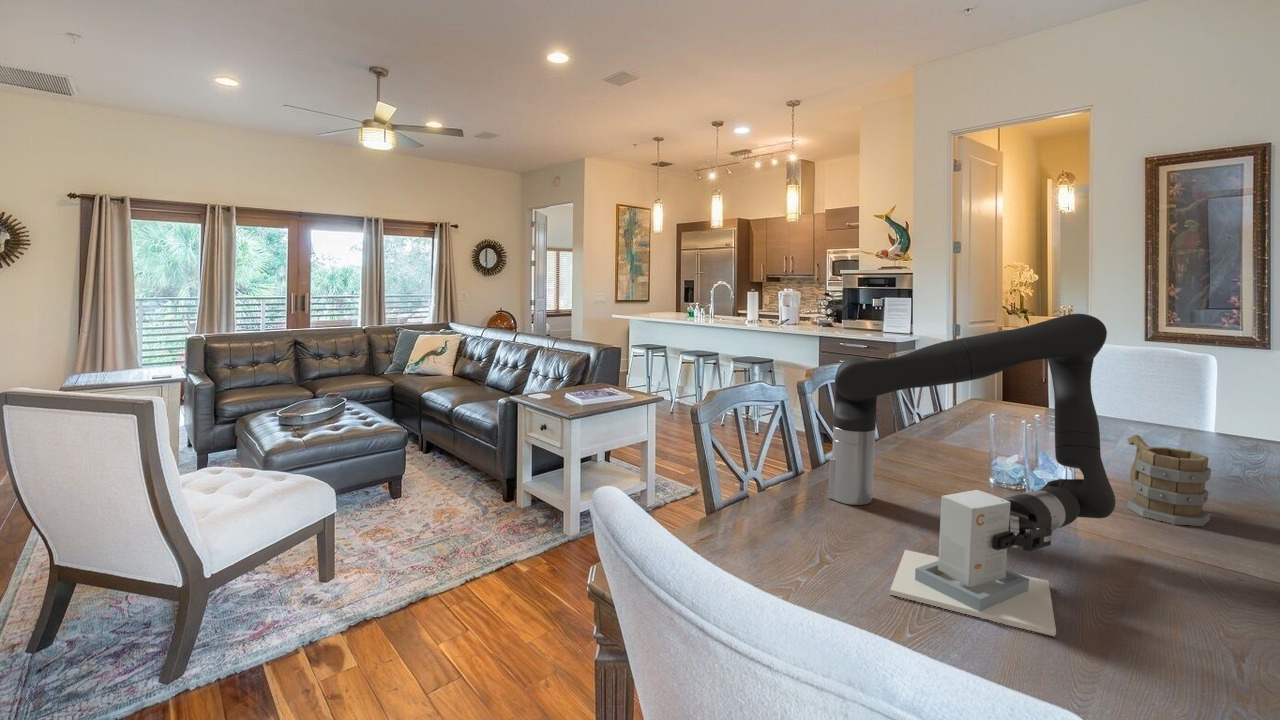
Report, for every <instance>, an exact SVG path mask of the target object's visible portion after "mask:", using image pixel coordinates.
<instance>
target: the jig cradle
mask: <svg viewBox="0 0 1280 720" xmlns="http://www.w3.org/2000/svg"><path fill="white" fill-rule="evenodd" d="M938 558H939V556H936V555H931V554H927V553H923V552H917V551H914V550H908V549H904V552H903V555H902V557H901V560H900V562H899V565H898V567H897V570H896V573H895V575H894V578H893V581H892V583H891V586H890V588H889V595H890V594H891V595H895V596H899V597H904V598H908V599H912V600H916V601H919V602H923V603H927V604H930V605H934V606H937V607H941V608H945V609H948V610H952V611H956V612H960V613H964V614H968V615H972V616H976V617H981V618H984V619H989V620H993V621H997V622H1000V623H1004V624H1007V625H1011V626H1015V627H1019V628H1024V629H1027V630H1032V631H1037V632H1041V633H1047V634H1052V635H1056V636H1057V627H1056V621H1055V615H1054V609H1053V602H1052V597H1051V590H1050V589H1051V588H1050V584H1049V580H1046V579H1042V578H1037V577H1033V576H1028V575H1023V574H1018V573H1016V572H1014V571H1011V570H1008V569H1006V578H1003V579H999V580H995V581H991V582H987V583H983V584H979V585H975V586H971V587H968V586H966V585H964V584H962V583H960V582H959V581H957V580H955V579H953V578H952V577H950V576H948V575H946V574H944V573H942V572H941V571H939V570H938ZM937 607H936V608H937ZM948 610H947V611H948ZM952 611H951V612H952ZM956 612H955V613H956ZM960 613H959V614H960ZM964 614H963V615H964ZM968 615H967V616H968ZM972 616H971V617H972Z"/></svg>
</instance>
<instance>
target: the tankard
mask: <svg viewBox="0 0 1280 720" xmlns="http://www.w3.org/2000/svg"><path fill="white" fill-rule="evenodd" d="M1127 442H1128V444H1129V445H1131V446H1132V445H1133V446H1134V445H1135V447H1136V451H1135V455H1134V456H1135V457H1134V461H1133V463H1132V464H1131V465H1132V466H1131V468H1130V475H1129V479H1130V485H1131V488H1132V490H1133V491H1134V492H1135V493H1136V497H1134V498H1132V499H1130V500H1129V501H1127V506H1126V507H1127V508H1129V509H1128V510H1130V509H1131V511H1132V512H1133V511H1134V512H1133V513H1135V512H1136V513H1135V514H1137V513H1138V514H1137V515H1139V516H1140V515H1141V517H1142V516H1143V517H1142V518H1144V517H1147V518H1146V519H1148V518H1151V519H1150V520H1152V519H1155V520H1154V521H1156V520H1160V521H1163V522H1162V523H1164V522H1167V523H1166V524H1168V523H1171V524H1170V525H1172V524H1175V525H1174V526H1182V525H1191V526H1190V527H1198V526H1202V527H1204V526H1205V525H1206V524H1208V522H1210V521H1211V520H1210V519H1211V513H1209V512H1207V511H1205V510H1203V506H1204V504H1205V503H1207V502H1208V498H1209V490H1207V489H1206V483H1207V481H1209V480H1211V474H1212V469H1211V468H1209V466H1208V465H1209V457H1208V456H1206V455H1203V454H1201V453H1199V452H1196V451H1192V450H1186V449H1179V448H1175V447H1170V448H1169V446H1168V447H1165V446H1164V447H1163V446H1149V445H1148V444H1147V443H1146V442H1145V441H1144V439H1143V438H1142V437H1141V436H1140V435H1139V434H1134V435H1132V436H1130V437H1128V438H1127ZM1209 520H1210V521H1209ZM1160 521H1159V522H1160Z"/></svg>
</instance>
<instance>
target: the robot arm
mask: <svg viewBox="0 0 1280 720" xmlns="http://www.w3.org/2000/svg"><path fill="white" fill-rule="evenodd" d="M1107 336H1108V330H1107V327H1106V325H1105V324H1104V323H1103V321H1101V320H1100V319H1098V318H1097V317H1095V316H1093V315H1090V314H1086V313H1069V314H1066V315H1065V314H1064V315H1060V316H1056V317H1055V318H1050V319H1047V320H1044V321H1040V322H1037V323H1034V324H1029V325H1026V326H1023V327H1022V326H1021V327H1018V328H1014V329H1013V328H1012V329H1008V330H1007V329H1006V330H1001V331H995V332H989V333H985V334H980V335H974V336H967V337H966V336H965V337H961V338H956V339H951V340H946V341H942V342H941V341H940V342H938V343H934V344H931V345H927V346H924V347H921V348H918V349H916V350H913V351H911V352H908V353H905V354H902V355H899V356H894V357H887V358H881V359H880V358H879V359H872V360H871V359H870V360H868V359H866V358H864V357H850V358H848V359H846V360H843V362H842V363H840V365H839V366H838V367H837V370H836V372H835V373H836V374H835V378H834V385H835V392H834V393H835V394H834V407H833V409H834V411H833V429H832V431H833V432H832V450H831V452H832V455H831V457H830V458H829V464H828V465H829V468H828V491H827V499H830V500H834V501H836V502H839V503H841V504H845V505H852V506H853V505H854V506H863V505H869V504H870V503H872V501H873V485H874V483H873V481H874V467H875V466H874V463H875V446H876V445H875V444H876V425H877V405H878V404H877V403H878V402H877V401H878V397H879V396H883V395H886V394H890V393H894V392H899V391H902V390H908V389H914V388H915V389H918V388H928V387H937V386H942V385H953V384H957V383H964V382H970V381H976V380H979V379H983V378H986V377H990V376H993V375H995V374H998V373H1001V372H1003V371H1005V370H1008V369H1011V368H1013V367H1016V366H1018V365H1021V364H1022V365H1023V364H1024V363H1029V362H1033V361H1038V360H1046V359H1047V362H1048V366H1049V370H1050V374H1051V379H1052V386H1053V387H1052V388H1053V397H1054V399H1053V400H1054V451H1055V452H1054V453H1055V454H1054V455H1055V460H1056V462H1057V464H1059V465H1061V466H1064V467H1068V468H1073V469H1077V470H1078V469H1079V471H1080V472H1081V474H1082V477H1083V478H1076V479H1075V478H1069V479H1068V478H1059V479H1058V478H1057V479H1054V480H1053V479H1052V480H1050V481H1048V482H1047V483H1045V484H1044V485H1043V487H1042V488H1040V489H1037V490H1032V491H1031V490H1030V491H1025V492H1022V493H1021V492H1020V493H1019V494H1014V495H1012V496H1008V497H1006V498H1003V499H1004V500H1007V501H1009V502H1011V504H1010V518H1009V532H1007V531H1006V532H1003V533H1000V534H997V535H995V536H994V537H993V542H992V548H993V549H995V550H1001V549H1006V548H1007V549H1008V548H1014V549H1015V548H1019V547H1022V549H1023V550H1024V551H1026V552H1033V551H1036V550H1039V549H1043V548H1045V547H1049V546H1051V545H1052V537H1053V535H1052V534H1053V532H1055V531H1057V530H1058V529H1061V528H1062V527H1063V528H1064V527H1066V526H1067V525H1070V524H1072V523H1073V522H1074V521H1076V520H1077V519H1078V518H1085V519H1086V518H1089V519H1106V518H1108V517H1110V515H1112V513H1113V512H1114V511H1115V508H1116V497H1115V494H1114V489H1113V488H1112V485H1111V483H1110V481H1109V478H1108V475H1107V472H1106V469H1105V466H1104V463H1103V460H1102V454H1101V438H1100V437H1101V435H1100V433H1101V432H1100V424H1099V419H1098V414H1097V410H1096V406H1095V404H1094V399H1093V395H1092V386H1091V385H1092V383H1091V382H1092V379H1091V378H1092V370H1093V365H1094V359H1095V357H1096V356H1097V355H1098V354H1099V353H1100V351H1101V350H1102V348H1103V346H1104V344H1105V343H1106V341H1107Z"/></svg>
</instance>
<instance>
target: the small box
mask: <svg viewBox="0 0 1280 720" xmlns="http://www.w3.org/2000/svg"><path fill="white" fill-rule="evenodd" d="M1004 499H1005V498H1001V497H999V496H997V495H996V496H995V495H993V494H991V493H987V492H985V491H982V490H979V489H974V490H969V491H967V490H966V491H961V492H956V493H950V494H946V495H941V499H940V520H939V522H940V523H939V537H938V538H939V543H938V557H939V558H938V570H939V571H941V572H942V573H944V574H946V575H948V576H950V577H952V578H953V579H955V580H957V581H959V582H960V583H962V584H964V585H966V586H968V587H971V586H975V585H979V584H983V583H987V582H991V581H995V580H999V579H1003V578H1006V570H1007V561H1008V548H1006V549H1001V550H995V549H993V548H992V542H993V537H994V536H995V535H997V534H1000V533H1003V532H1006V531H1007V532H1009V518H1010V504H1011V502H1009V501H1007V500H1004Z"/></svg>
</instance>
